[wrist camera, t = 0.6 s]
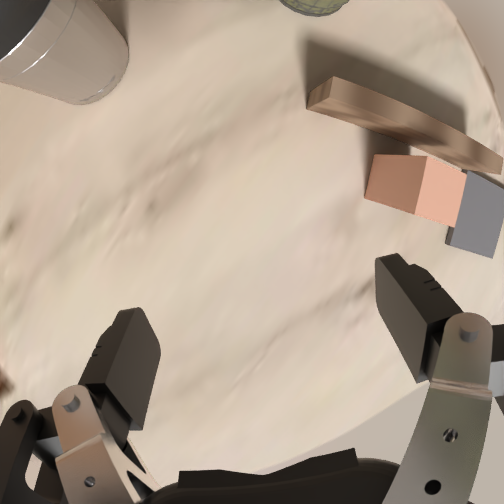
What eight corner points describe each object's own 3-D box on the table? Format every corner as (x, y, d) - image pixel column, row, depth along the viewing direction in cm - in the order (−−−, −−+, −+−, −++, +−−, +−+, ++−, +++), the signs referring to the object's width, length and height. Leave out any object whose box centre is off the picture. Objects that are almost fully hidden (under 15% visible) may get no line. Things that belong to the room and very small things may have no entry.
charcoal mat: (445, 243, 36) (449, 245, 35) (463, 169, 33) (467, 169, 33) (488, 256, 38) (492, 258, 37) (504, 191, 35) (509, 192, 34)
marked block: (364, 198, 33) (414, 214, 24) (374, 153, 32) (427, 154, 22) (400, 208, 34) (454, 227, 25) (410, 166, 33) (467, 173, 23)
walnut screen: (306, 109, 30) (329, 97, 23) (310, 91, 30) (333, 75, 23) (463, 169, 33) (500, 174, 27) (465, 154, 33) (503, 158, 26)
